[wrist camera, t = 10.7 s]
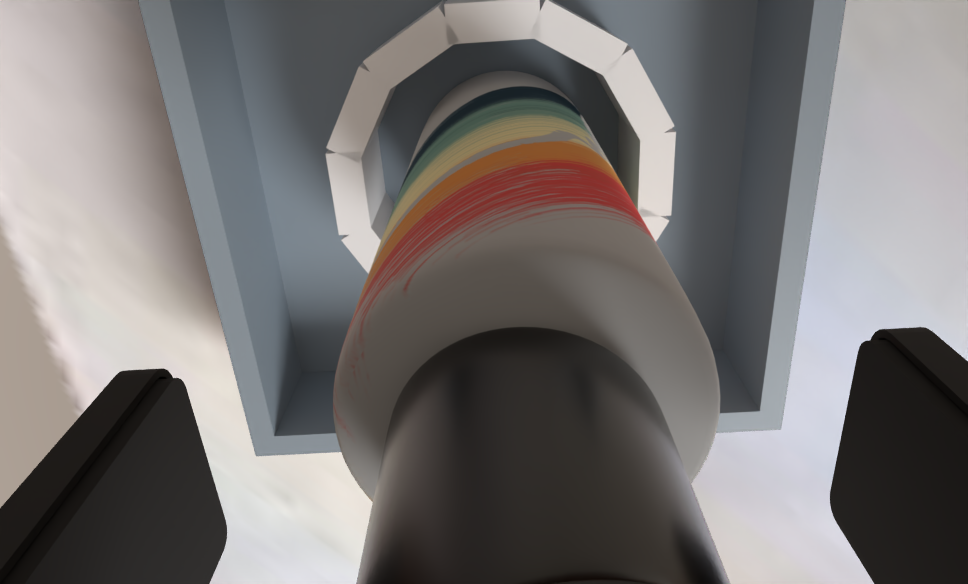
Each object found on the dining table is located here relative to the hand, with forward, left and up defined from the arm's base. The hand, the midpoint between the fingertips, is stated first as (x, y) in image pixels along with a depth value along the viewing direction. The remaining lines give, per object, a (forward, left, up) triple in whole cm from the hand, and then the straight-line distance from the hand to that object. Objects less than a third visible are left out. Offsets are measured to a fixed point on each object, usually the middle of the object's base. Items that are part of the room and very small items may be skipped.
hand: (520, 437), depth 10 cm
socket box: (0, 0, -16) cm, 16 cm away
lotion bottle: (0, 0, -15) cm, 15 cm away
